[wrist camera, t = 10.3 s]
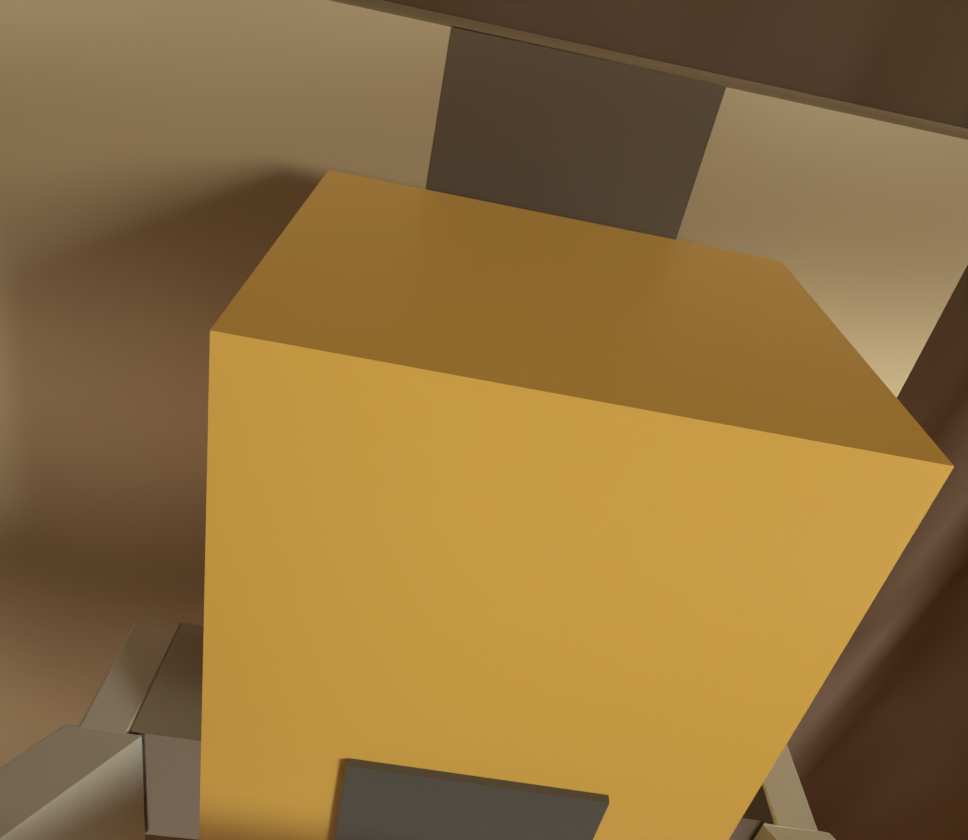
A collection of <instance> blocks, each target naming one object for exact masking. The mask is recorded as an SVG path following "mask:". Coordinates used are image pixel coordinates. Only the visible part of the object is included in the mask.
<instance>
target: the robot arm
mask: <svg viewBox="0 0 968 840" xmlns="http://www.w3.org/2000/svg"><path fill="white" fill-rule="evenodd" d="M203 633H204V626H200V625H194V624H188V623H180V622H174V621H168V620H163V619H157V618H151V617H145V616H142V617H141V618H140V619H139V620H138V621H137V622H136V623H135V624H134V625H133V626H132V628H131V630H130V632H129V634H128V635H127V637H126V639H125V641H124V643H123V645H122V647H121V648H120V650H119V652H118V654H117V656H116V658H115V660H114V661H113V663H112V665H111V667H110V669H109V671H108V673H107V674H106V676H105V678H104V680H103V682H102V684H101V686H100V687H99V689H98V691H97V693H96V695H95V697H94V699H93V700H92V702H91V704H90V706H89V708H88V710H87V712H86V713H85V715H84V717H83V719H82V721H81V723H80V725H79V726H74V725H64V726H63V727H61V728H60V729H58V730H57V731H55V732H54V733H52V734H51V735H49V736H48V737H46V738H45V739H43V740H42V741H40V742H39V743H37V744H36V745H34V746H33V747H31V748H29V749H28V750H26V751H25V752H23V753H22V754H20V755H19V756H17V757H16V758H14V759H13V760H11V761H10V762H8V763H7V764H5V765H4V766H2V767H1V768H0V840H145V834H150V835H160V836H169V837H179V838H189V839H198V840H199V822H200V775H201V727H202V680H203ZM729 840H835V838H834V837H833V836H832V835H831V834H830V833H827V832H822V831H818V830H817V827H816V824H815V822H814V819H813V816H812V813H811V810H810V808H809V805H808V802H807V799H806V796H805V794H804V791H803V788H802V785H801V782H800V780H799V777H798V774H797V771H796V768H795V766H794V763H793V760H792V757H791V754H790V752H789V749H788V746H787V744H786V746H785V747H784V749H783V751H782V752H781V754H780V755H779V757H778V759H777V760H776V762H775V764H774V765H773V767H772V769H771V770H770V772H769V774H768V775H767V777H766V779H765V780H764V782H763V784H762V785H761V787H760V789H759V790H758V792H757V794H756V795H755V797H754V798H753V800H752V802H751V803H750V805H749V807H748V808H747V810H746V812H745V813H744V815H743V817H742V818H741V820H740V822H739V823H738V825H737V827H736V828H735V830H734V832H733V833H732V835H731V837H730V838H729Z"/></svg>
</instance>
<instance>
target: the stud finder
mask: <svg viewBox="0 0 968 840" xmlns="http://www.w3.org/2000/svg"><path fill="white" fill-rule="evenodd" d="M953 468H954V466H953V464H952V463H951V462H950V461H949V460H948V458H947V457H946V456H945V455H944V454H943V452H942V451H941V450H940V449H939V448H938V447H937V445H936V444H935V443H934V442H933V441H932V439H931V438H930V437H929V436H928V435H927V433H926V432H925V431H924V430H923V429H922V428H921V426H920V425H919V424H918V423H917V422H916V420H915V419H914V418H913V417H912V416H911V414H910V413H909V412H908V411H907V410H906V409H905V407H904V406H903V405H902V404H901V403H900V401H899V400H898V399H897V398H896V397H895V395H894V394H893V393H892V392H891V391H890V390H889V388H888V387H887V386H886V385H885V384H884V382H883V381H882V380H881V379H880V378H879V376H878V375H877V374H876V373H875V372H874V371H873V369H872V368H871V367H870V366H869V365H868V363H867V362H866V361H865V360H864V359H863V357H862V356H861V355H860V354H859V353H858V352H857V350H856V349H855V348H854V347H853V346H852V344H851V343H850V342H849V341H848V340H847V338H846V337H845V336H844V335H843V334H842V333H841V331H840V330H839V329H838V328H837V327H836V325H835V324H834V323H833V322H832V321H831V319H830V318H829V317H828V316H827V315H826V314H825V312H824V311H823V310H822V309H821V308H820V306H819V305H818V304H817V303H816V302H815V300H814V299H813V298H812V297H811V296H810V295H809V293H808V292H807V291H806V290H805V289H804V287H803V286H802V285H801V284H800V283H799V281H798V280H797V279H796V278H795V277H794V276H793V274H792V273H791V272H790V271H789V270H788V268H787V267H786V266H785V265H784V264H783V262H782V261H779V260H774V259H769V258H764V257H759V256H754V255H749V254H744V253H739V252H734V251H729V250H724V249H719V248H714V247H709V246H704V245H699V244H694V243H689V242H684V241H680V240H675V239H670V238H665V237H660V236H655V235H650V234H645V233H640V232H635V231H630V230H625V229H620V228H615V227H610V226H605V225H600V224H595V223H590V222H585V221H580V220H575V219H570V218H565V217H560V216H555V215H550V214H545V213H540V212H535V211H530V210H525V209H520V208H516V207H511V206H506V205H501V204H496V203H491V202H486V201H481V200H476V199H471V198H466V197H461V196H456V195H451V194H446V193H441V192H436V191H431V190H426V189H421V188H416V187H411V186H406V185H401V184H396V183H391V182H386V181H381V180H376V179H371V178H366V177H361V176H356V175H352V174H347V173H342V172H337V171H332V170H328V171H327V173H326V174H325V176H324V177H323V178H322V180H321V181H320V182H319V184H318V185H317V186H316V188H315V189H314V190H313V192H312V193H311V194H310V196H309V197H308V198H307V200H306V201H305V203H304V204H303V205H302V207H301V208H300V209H299V211H298V212H297V213H296V215H295V216H294V217H293V219H292V220H291V221H290V223H289V224H288V226H287V227H286V228H285V230H284V231H283V232H282V234H281V235H280V236H279V238H278V239H277V240H276V242H275V243H274V244H273V246H272V247H271V248H270V250H269V251H268V253H267V254H266V255H265V257H264V258H263V259H262V261H261V262H260V263H259V265H258V266H257V267H256V269H255V270H254V271H253V273H252V274H251V275H250V277H249V278H248V280H247V281H246V282H245V284H244V285H243V286H242V288H241V289H240V290H239V292H238V293H237V294H236V296H235V297H234V298H233V300H232V301H231V302H230V304H229V305H228V307H227V308H226V309H225V311H224V312H223V313H222V315H221V316H220V317H219V319H218V320H217V321H216V323H215V324H214V325H213V327H212V328H211V330H210V350H209V397H208V444H207V492H206V539H205V586H204V633H203V680H202V727H201V775H200V822H199V840H729V838H730V837H731V835H732V833H733V832H734V830H735V828H736V827H737V825H738V823H739V822H740V820H741V818H742V817H743V815H744V813H745V812H746V810H747V808H748V807H749V805H750V803H751V802H752V800H753V798H754V797H755V795H756V794H757V792H758V790H759V789H760V787H761V785H762V784H763V782H764V780H765V779H766V777H767V775H768V774H769V772H770V770H771V769H772V767H773V765H774V764H775V762H776V760H777V759H778V757H779V755H780V754H781V752H782V751H783V749H784V747H785V746H786V744H787V742H788V741H789V739H790V737H791V736H792V734H793V732H794V731H795V729H796V727H797V726H798V724H799V722H800V721H801V719H802V717H803V716H804V714H805V712H806V711H807V709H808V708H809V706H810V704H811V703H812V701H813V699H814V698H815V696H816V694H817V693H818V691H819V689H820V688H821V686H822V684H823V683H824V681H825V679H826V678H827V676H828V674H829V673H830V671H831V669H832V668H833V666H834V665H835V663H836V661H837V660H838V658H839V656H840V655H841V653H842V651H843V650H844V648H845V646H846V645H847V643H848V641H849V640H850V638H851V636H852V635H853V633H854V631H855V630H856V628H857V626H858V625H859V623H860V622H861V620H862V618H863V617H864V615H865V613H866V612H867V610H868V608H869V607H870V605H871V603H872V602H873V600H874V598H875V597H876V595H877V593H878V592H879V590H880V588H881V587H882V585H883V583H884V582H885V580H886V579H887V577H888V575H889V574H890V572H891V570H892V569H893V567H894V565H895V564H896V562H897V560H898V559H899V557H900V555H901V554H902V552H903V550H904V549H905V547H906V545H907V544H908V542H909V540H910V539H911V537H912V536H913V534H914V532H915V531H916V529H917V527H918V526H919V524H920V522H921V521H922V519H923V517H924V516H925V514H926V512H927V511H928V509H929V507H930V506H931V504H932V502H933V501H934V499H935V497H936V496H937V494H938V493H939V491H940V489H941V488H942V486H943V484H944V483H945V481H946V479H947V478H948V476H949V474H950V473H951V471H952V469H953Z"/></svg>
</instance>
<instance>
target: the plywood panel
mask: <svg viewBox="0 0 968 840" xmlns="http://www.w3.org/2000/svg"><path fill="white" fill-rule="evenodd" d="M328 170H332V171H337V172H342V173H347V174H352V175H356V176H361V177H366V178H371V179H376V180H381V181H386V182H391V183H396V184H401V185H406V186H411V187H416V188H421V189H426V190H431V191H436V192H441V193H446V194H451V195H456V196H461V197H466V198H471V199H476V200H481V201H486V202H491V203H496V204H501V205H506V206H511V207H516V208H520V209H525V210H530V211H535V212H540V213H545V214H550V215H555V216H560V217H565V218H570V219H575V220H580V221H585V222H590V223H595V224H600V225H605V226H610V227H615V228H620V229H625V230H630V231H635V232H640V233H645V234H650V235H655V236H660V237H665V238H670V239H675V240H680V241H684V242H689V243H694V244H699V245H704V246H709V247H714V248H719V249H724V250H729V251H734V252H739V253H744V254H749V255H754V256H759V257H764V258H769V259H774V260H779V261H782V262H783V264H784V265H785V266H786V267H787V268H788V270H789V271H790V272H791V273H792V274H793V276H794V277H795V278H796V279H797V280H798V281H799V283H800V284H801V285H802V286H803V287H804V289H805V290H806V291H807V292H808V293H809V295H810V296H811V297H812V298H813V299H814V300H815V302H816V303H817V304H818V305H819V306H820V308H821V309H822V310H823V311H824V312H825V314H826V315H827V316H828V317H829V318H830V319H831V321H832V322H833V323H834V324H835V325H836V327H837V328H838V329H839V330H840V331H841V333H842V334H843V335H844V336H845V337H846V338H847V340H848V341H849V342H850V343H851V344H852V346H853V347H854V348H855V349H856V350H857V352H858V353H859V354H860V355H861V356H862V357H863V359H864V360H865V361H866V362H867V363H868V365H869V366H870V367H871V368H872V369H873V371H874V372H875V373H876V374H877V375H878V376H879V378H880V379H881V380H882V381H883V382H884V384H885V385H886V386H887V387H888V388H889V390H890V391H891V392H892V393H893V394H894V395H895V397H896V398H897V396H898V394H899V393H900V391H901V389H902V387H903V385H904V383H905V381H906V379H907V377H908V376H909V374H910V372H911V370H912V368H913V366H914V364H915V362H916V361H917V359H918V357H919V355H920V353H921V351H922V349H923V347H924V346H925V344H926V342H927V340H928V338H929V336H930V334H931V332H932V330H933V329H934V327H935V325H936V323H937V321H938V319H939V317H940V315H941V314H942V312H943V310H944V308H945V306H946V304H947V302H948V300H949V299H950V297H951V295H952V293H953V291H954V289H955V287H956V285H957V283H958V282H959V280H960V278H961V276H962V274H963V272H964V270H965V268H966V267H967V265H968V129H966V128H961V127H957V126H952V125H948V124H943V123H939V122H934V121H929V120H925V119H920V118H916V117H911V116H907V115H902V114H898V113H893V112H888V111H884V110H879V109H875V108H870V107H866V106H861V105H857V104H852V103H847V102H843V101H838V100H834V99H829V98H825V97H820V96H816V95H811V94H806V93H802V92H797V91H793V90H788V89H784V88H779V87H775V86H770V85H765V84H761V83H756V82H752V81H747V80H743V79H738V78H734V77H729V76H725V75H720V74H715V73H711V72H706V71H702V70H697V69H693V68H688V67H684V66H679V65H674V64H670V63H665V62H661V61H656V60H652V59H647V58H643V57H638V56H633V55H629V54H624V53H620V52H615V51H611V50H606V49H602V48H597V47H592V46H588V45H583V44H579V43H574V42H570V41H565V40H561V39H556V38H551V37H547V36H542V35H538V34H533V33H529V32H524V31H520V30H515V29H510V28H506V27H501V26H497V25H492V24H488V23H483V22H479V21H474V20H469V19H465V18H460V17H456V16H451V15H447V14H442V13H438V12H433V11H428V10H424V9H419V8H415V7H410V6H406V5H401V4H397V3H392V2H387V1H383V0H0V768H1V767H2V766H4V765H5V764H7V763H8V762H10V761H11V760H13V759H14V758H16V757H17V756H19V755H20V754H22V753H23V752H25V751H26V750H28V749H29V748H31V747H33V746H34V745H36V744H37V743H39V742H40V741H42V740H43V739H45V738H46V737H48V736H49V735H51V734H52V733H54V732H55V731H57V730H58V729H60V728H61V727H63V726H64V725H74V726H79V725H80V723H81V721H82V719H83V717H84V715H85V713H86V712H87V710H88V708H89V706H90V704H91V702H92V700H93V699H94V697H95V695H96V693H97V691H98V689H99V687H100V686H101V684H102V682H103V680H104V678H105V676H106V674H107V673H108V671H109V669H110V667H111V665H112V663H113V661H114V660H115V658H116V656H117V654H118V652H119V650H120V648H121V647H122V645H123V643H124V641H125V639H126V637H127V635H128V634H129V632H130V630H131V628H132V626H133V625H134V624H135V623H136V622H137V621H138V620H139V619H140V618H141V617H142V616H145V617H151V618H157V619H163V620H168V621H174V622H180V623H188V624H194V625H200V626H204V586H205V539H206V492H207V444H208V397H209V350H210V330H211V328H212V327H213V325H214V324H215V323H216V321H217V320H218V319H219V317H220V316H221V315H222V313H223V312H224V311H225V309H226V308H227V307H228V305H229V304H230V302H231V301H232V300H233V298H234V297H235V296H236V294H237V293H238V292H239V290H240V289H241V288H242V286H243V285H244V284H245V282H246V281H247V280H248V278H249V277H250V275H251V274H252V273H253V271H254V270H255V269H256V267H257V266H258V265H259V263H260V262H261V261H262V259H263V258H264V257H265V255H266V254H267V253H268V251H269V250H270V248H271V247H272V246H273V244H274V243H275V242H276V240H277V239H278V238H279V236H280V235H281V234H282V232H283V231H284V230H285V228H286V227H287V226H288V224H289V223H290V221H291V220H292V219H293V217H294V216H295V215H296V213H297V212H298V211H299V209H300V208H301V207H302V205H303V204H304V203H305V201H306V200H307V198H308V197H309V196H310V194H311V193H312V192H313V190H314V189H315V188H316V186H317V185H318V184H319V182H320V181H321V180H322V178H323V177H324V176H325V174H326V173H327V171H328Z"/></svg>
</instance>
